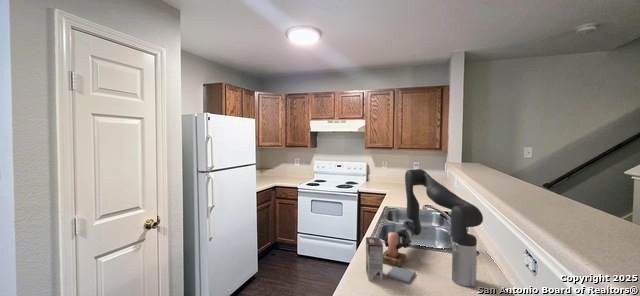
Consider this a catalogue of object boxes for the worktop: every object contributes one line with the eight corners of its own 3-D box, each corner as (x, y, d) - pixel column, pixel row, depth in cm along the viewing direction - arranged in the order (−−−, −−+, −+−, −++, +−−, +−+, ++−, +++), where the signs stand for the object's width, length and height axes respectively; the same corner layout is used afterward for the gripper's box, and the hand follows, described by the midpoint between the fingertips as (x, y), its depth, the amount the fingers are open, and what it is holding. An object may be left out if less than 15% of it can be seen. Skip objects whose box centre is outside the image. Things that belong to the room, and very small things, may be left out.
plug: (399, 260, 140) (399, 233, 139) (396, 264, 135) (396, 236, 135) (390, 258, 142) (390, 231, 142) (386, 261, 138) (386, 234, 138)
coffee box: (365, 270, 129) (365, 236, 128) (379, 270, 129) (379, 237, 128) (368, 280, 120) (368, 244, 119) (383, 281, 120) (383, 244, 119)
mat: (415, 274, 126) (415, 272, 126) (408, 283, 118) (408, 281, 118) (393, 268, 132) (393, 266, 131) (386, 277, 123) (386, 274, 123)
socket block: (406, 260, 140) (406, 254, 140) (399, 267, 132) (399, 261, 132) (387, 255, 146) (387, 249, 146) (379, 262, 138) (379, 256, 138)
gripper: (390, 226, 155) (378, 235, 141) (416, 231, 146) (406, 242, 133) (390, 239, 155) (378, 250, 141) (416, 245, 147) (405, 257, 133)
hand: (391, 246), depth 137 cm, fingers closed on plug, 5 cm apart
